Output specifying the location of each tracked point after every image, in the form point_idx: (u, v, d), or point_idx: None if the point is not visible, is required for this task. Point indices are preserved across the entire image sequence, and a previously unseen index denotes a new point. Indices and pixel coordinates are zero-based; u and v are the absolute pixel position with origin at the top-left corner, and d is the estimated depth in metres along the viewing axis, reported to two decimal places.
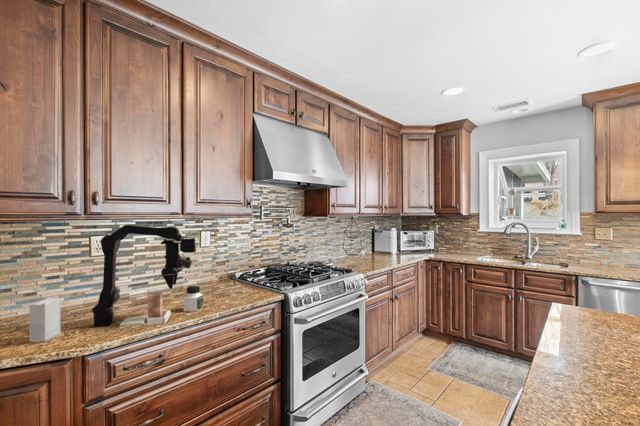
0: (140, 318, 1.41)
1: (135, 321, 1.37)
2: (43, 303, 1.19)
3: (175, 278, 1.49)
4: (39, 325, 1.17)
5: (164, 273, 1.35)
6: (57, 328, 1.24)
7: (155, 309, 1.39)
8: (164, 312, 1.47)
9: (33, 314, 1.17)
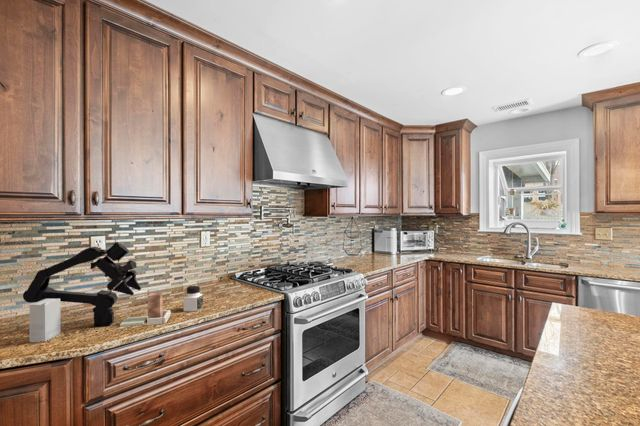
0: (140, 318, 1.41)
1: (135, 321, 1.37)
2: (43, 303, 1.19)
3: (136, 284, 1.44)
4: (39, 325, 1.17)
5: (111, 287, 1.29)
6: (57, 328, 1.24)
7: (155, 309, 1.39)
8: (164, 312, 1.47)
9: (33, 314, 1.17)
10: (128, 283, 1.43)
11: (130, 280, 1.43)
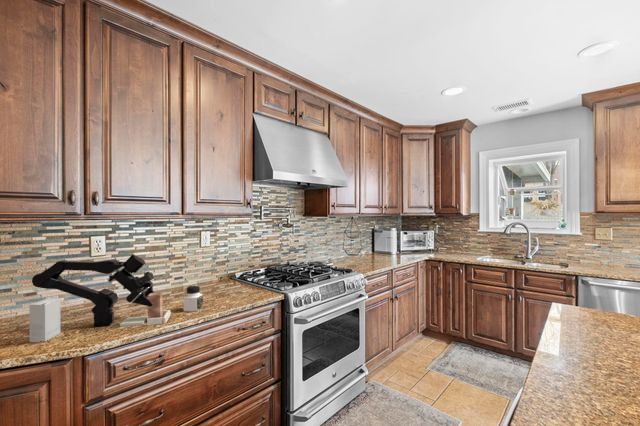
0: (140, 318, 1.41)
1: (135, 321, 1.37)
2: (43, 303, 1.19)
3: None
4: (39, 325, 1.17)
5: (130, 300, 1.31)
6: (57, 328, 1.24)
7: (155, 309, 1.39)
8: (164, 312, 1.47)
9: (33, 314, 1.17)
10: (145, 294, 1.45)
11: (147, 291, 1.45)
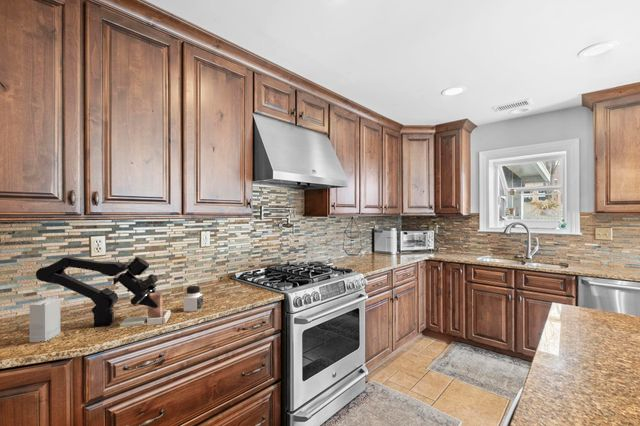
0: (140, 318, 1.41)
1: (135, 321, 1.37)
2: (43, 303, 1.19)
3: None
4: (39, 325, 1.17)
5: (135, 302, 1.31)
6: (57, 328, 1.24)
7: (155, 309, 1.39)
8: (164, 312, 1.47)
9: (33, 314, 1.17)
10: None
11: None
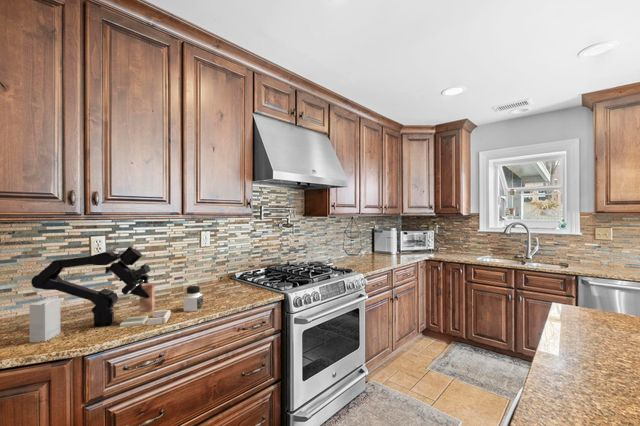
0: (140, 318, 1.41)
1: (135, 321, 1.37)
2: (43, 303, 1.19)
3: None
4: (39, 325, 1.17)
5: (126, 292, 1.30)
6: (57, 328, 1.24)
7: (147, 299, 1.38)
8: (164, 312, 1.47)
9: (33, 314, 1.17)
10: None
11: None
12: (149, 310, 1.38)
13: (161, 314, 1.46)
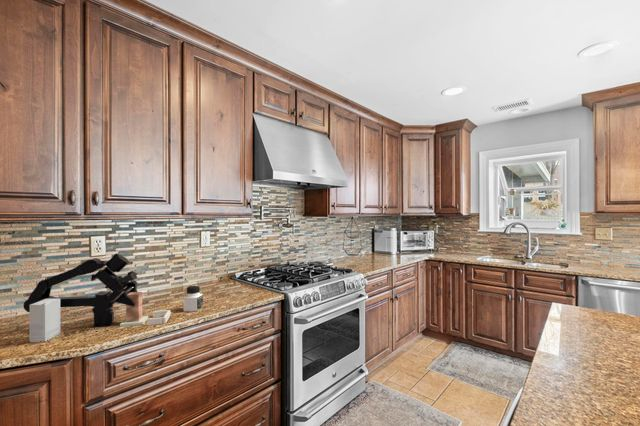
0: None
1: None
2: (43, 303, 1.19)
3: None
4: (39, 325, 1.17)
5: (111, 299, 1.29)
6: (57, 328, 1.24)
7: (133, 309, 1.37)
8: (164, 312, 1.47)
9: (33, 314, 1.17)
10: None
11: (131, 291, 1.43)
12: (136, 319, 1.37)
13: (161, 314, 1.46)
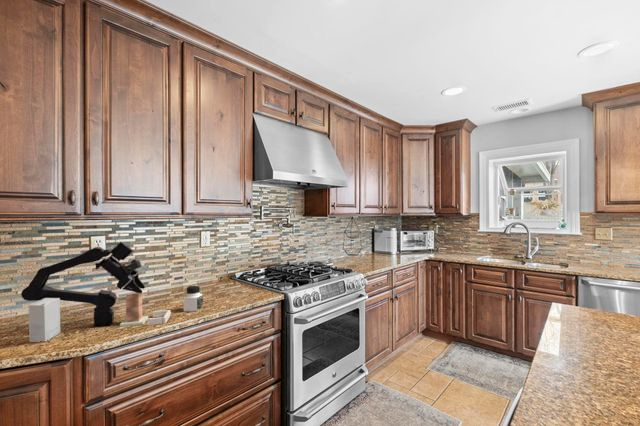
0: None
1: None
2: (42, 303, 1.18)
3: (140, 283, 1.46)
4: (39, 325, 1.17)
5: (121, 286, 1.31)
6: (57, 327, 1.24)
7: (133, 309, 1.37)
8: (164, 312, 1.47)
9: (32, 315, 1.17)
10: None
11: (133, 279, 1.46)
12: (136, 319, 1.37)
13: (161, 314, 1.46)
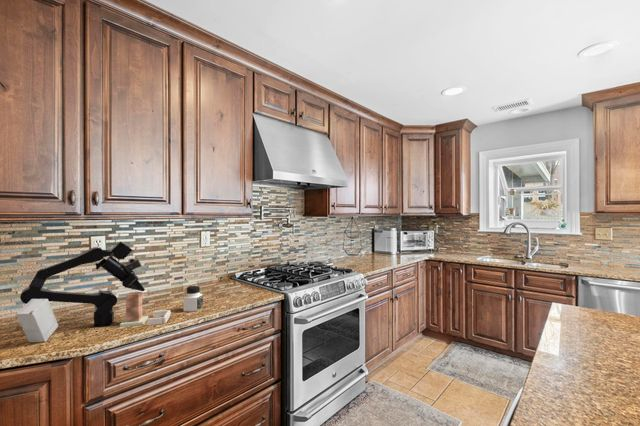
0: None
1: None
2: (30, 311, 1.12)
3: (137, 282, 1.48)
4: (33, 330, 1.15)
5: (127, 284, 1.34)
6: (54, 324, 1.22)
7: (133, 309, 1.37)
8: (164, 312, 1.47)
9: (23, 321, 1.12)
10: None
11: None
12: (136, 319, 1.37)
13: (161, 314, 1.46)
